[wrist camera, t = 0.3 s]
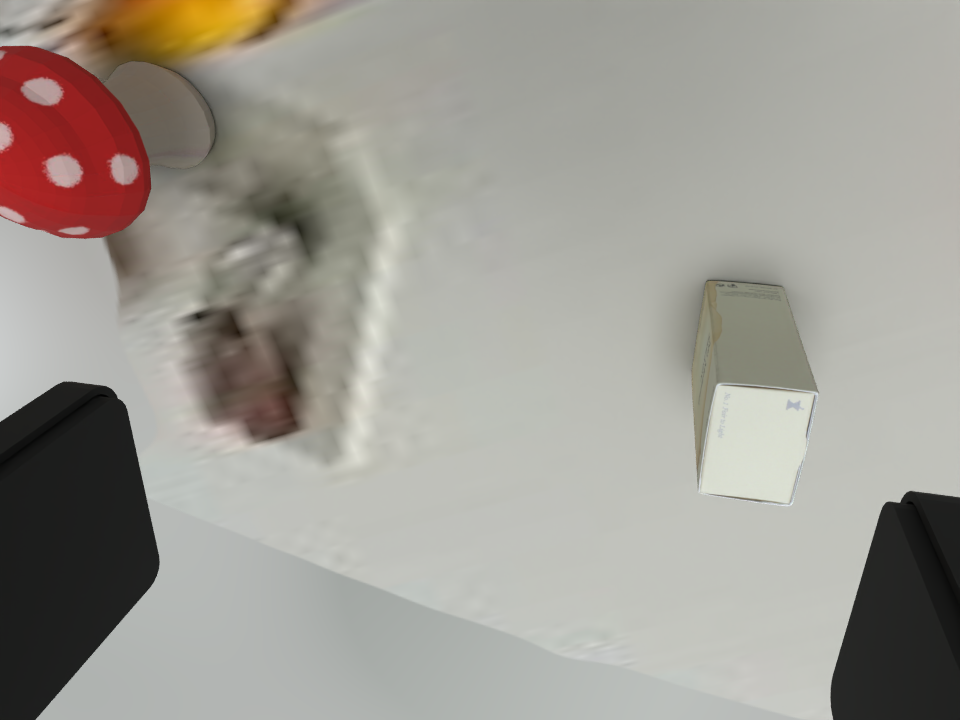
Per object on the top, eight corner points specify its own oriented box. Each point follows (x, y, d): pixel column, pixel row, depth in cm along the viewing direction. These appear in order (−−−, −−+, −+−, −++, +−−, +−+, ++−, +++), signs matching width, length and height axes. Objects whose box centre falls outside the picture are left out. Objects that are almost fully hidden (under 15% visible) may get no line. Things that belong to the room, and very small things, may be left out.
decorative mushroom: (272, 113, 46) (108, 171, 33) (205, 219, 50) (35, 309, 37) (133, -7, 44) (-96, 4, 31) (76, 111, 48) (-147, 165, 35)
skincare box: (705, 278, 44) (713, 375, 34) (788, 285, 43) (822, 388, 33) (690, 376, 47) (692, 495, 36) (767, 385, 46) (793, 510, 36)
